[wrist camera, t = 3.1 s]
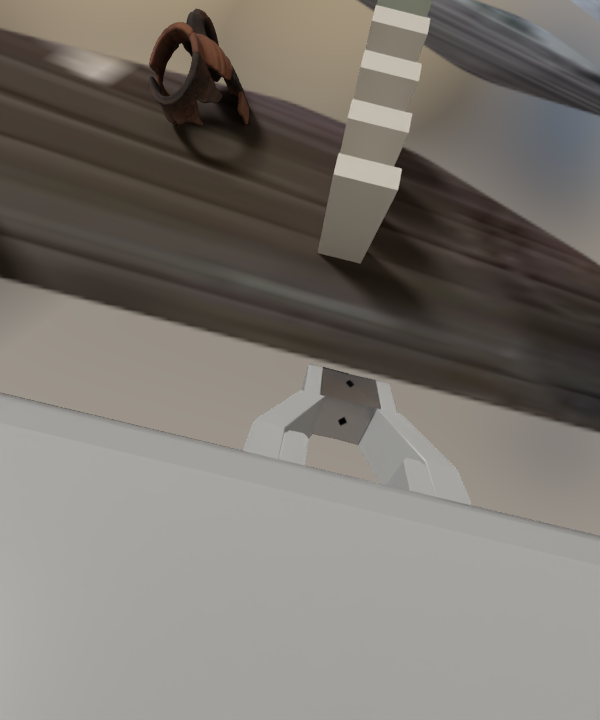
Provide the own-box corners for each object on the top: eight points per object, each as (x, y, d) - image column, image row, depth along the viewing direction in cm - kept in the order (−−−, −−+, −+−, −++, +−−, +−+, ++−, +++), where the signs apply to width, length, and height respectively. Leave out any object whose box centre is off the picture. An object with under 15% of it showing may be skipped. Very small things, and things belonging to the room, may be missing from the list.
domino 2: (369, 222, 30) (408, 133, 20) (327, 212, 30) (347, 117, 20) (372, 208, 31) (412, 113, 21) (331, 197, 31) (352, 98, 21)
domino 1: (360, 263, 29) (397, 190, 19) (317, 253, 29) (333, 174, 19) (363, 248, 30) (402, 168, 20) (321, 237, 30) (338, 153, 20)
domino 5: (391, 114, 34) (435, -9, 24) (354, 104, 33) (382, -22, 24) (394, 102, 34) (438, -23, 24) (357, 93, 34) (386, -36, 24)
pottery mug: (256, 148, 32) (208, 90, 25) (198, 170, 36) (141, 125, 28) (252, 43, 31) (201, -51, 24) (194, 77, 35) (134, 5, 27)
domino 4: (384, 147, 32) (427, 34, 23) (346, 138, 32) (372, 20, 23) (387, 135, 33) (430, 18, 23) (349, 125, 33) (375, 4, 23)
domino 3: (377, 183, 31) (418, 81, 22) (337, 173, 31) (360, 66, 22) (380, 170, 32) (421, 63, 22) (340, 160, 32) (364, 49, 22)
